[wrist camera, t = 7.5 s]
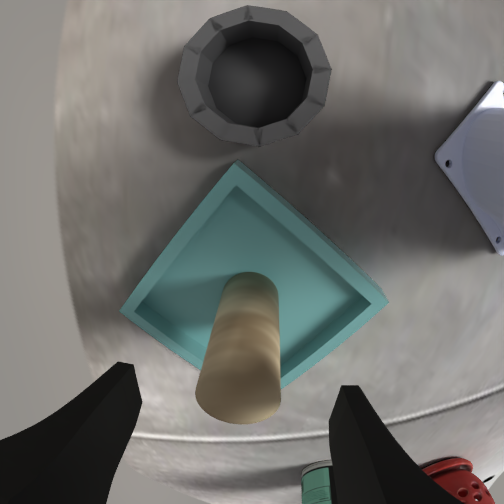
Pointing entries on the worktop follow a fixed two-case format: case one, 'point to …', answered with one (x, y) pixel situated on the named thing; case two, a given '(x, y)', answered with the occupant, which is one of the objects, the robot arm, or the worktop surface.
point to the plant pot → (459, 481)
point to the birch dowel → (243, 353)
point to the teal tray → (260, 261)
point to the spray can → (319, 484)
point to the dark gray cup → (254, 75)
